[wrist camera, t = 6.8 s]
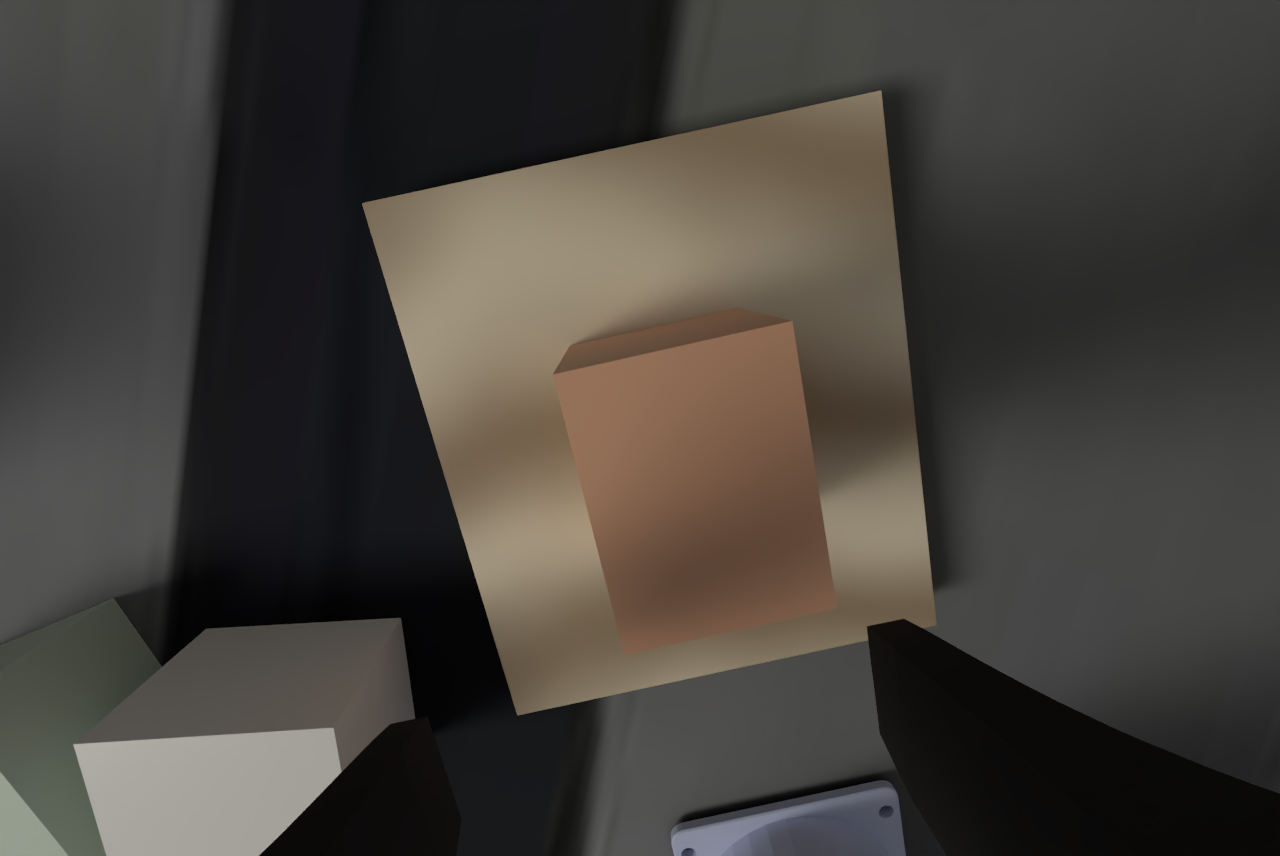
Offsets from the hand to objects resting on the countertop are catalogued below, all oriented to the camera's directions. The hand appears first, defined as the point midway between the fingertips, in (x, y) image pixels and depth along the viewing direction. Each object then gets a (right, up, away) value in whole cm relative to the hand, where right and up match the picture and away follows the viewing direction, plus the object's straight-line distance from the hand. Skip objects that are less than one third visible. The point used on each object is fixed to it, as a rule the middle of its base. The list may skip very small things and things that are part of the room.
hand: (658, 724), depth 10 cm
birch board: (+1, +5, +8) cm, 10 cm away
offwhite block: (-11, -4, +10) cm, 15 cm away
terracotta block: (+1, +5, +7) cm, 8 cm away
